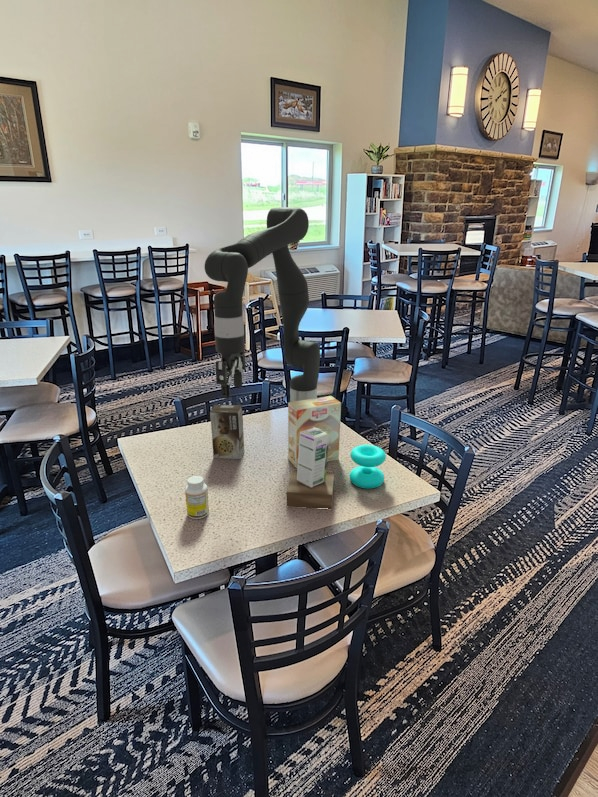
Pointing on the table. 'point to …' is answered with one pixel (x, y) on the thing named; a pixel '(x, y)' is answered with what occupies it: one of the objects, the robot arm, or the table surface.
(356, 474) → the donuts
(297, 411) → the coffeecake box
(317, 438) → the syrup box
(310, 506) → the walnut riser
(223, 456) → the coffee box
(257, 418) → the table surface
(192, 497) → the supplement bottle
